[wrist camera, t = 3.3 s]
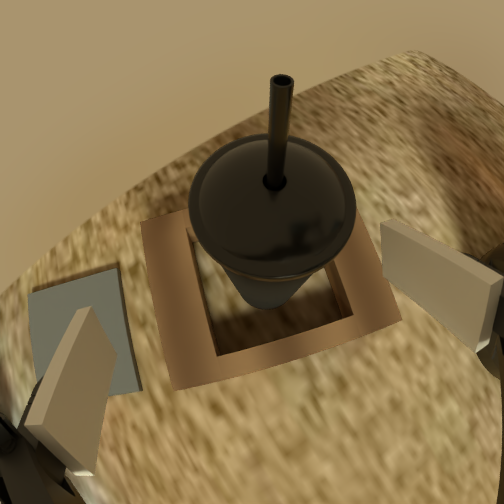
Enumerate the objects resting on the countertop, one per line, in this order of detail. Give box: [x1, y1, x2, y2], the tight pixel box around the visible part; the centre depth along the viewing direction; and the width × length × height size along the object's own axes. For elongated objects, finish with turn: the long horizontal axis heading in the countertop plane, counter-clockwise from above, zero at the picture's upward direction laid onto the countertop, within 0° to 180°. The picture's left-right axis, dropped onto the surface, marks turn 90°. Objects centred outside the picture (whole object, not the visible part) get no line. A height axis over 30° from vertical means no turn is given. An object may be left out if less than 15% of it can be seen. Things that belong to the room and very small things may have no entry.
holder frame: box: [140, 207, 402, 391], centre depth 25 cm, size 18×14×3 cm
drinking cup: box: [188, 74, 356, 309], centre depth 17 cm, size 8×8×20 cm
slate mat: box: [28, 268, 143, 396], centre depth 24 cm, size 11×11×1 cm
